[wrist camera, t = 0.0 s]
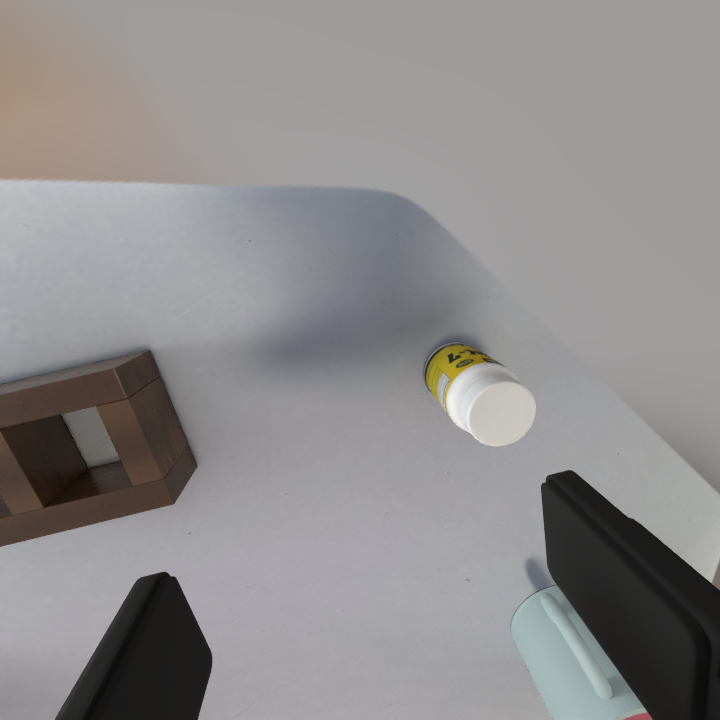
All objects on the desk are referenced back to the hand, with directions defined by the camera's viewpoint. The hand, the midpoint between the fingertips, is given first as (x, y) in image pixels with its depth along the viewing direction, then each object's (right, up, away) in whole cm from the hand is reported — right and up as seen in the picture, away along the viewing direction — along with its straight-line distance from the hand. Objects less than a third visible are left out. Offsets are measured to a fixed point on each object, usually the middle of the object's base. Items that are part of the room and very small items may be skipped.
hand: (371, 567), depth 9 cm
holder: (-23, -1, +17) cm, 29 cm away
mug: (+18, -19, +27) cm, 38 cm away
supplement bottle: (+7, +4, +19) cm, 21 cm away
